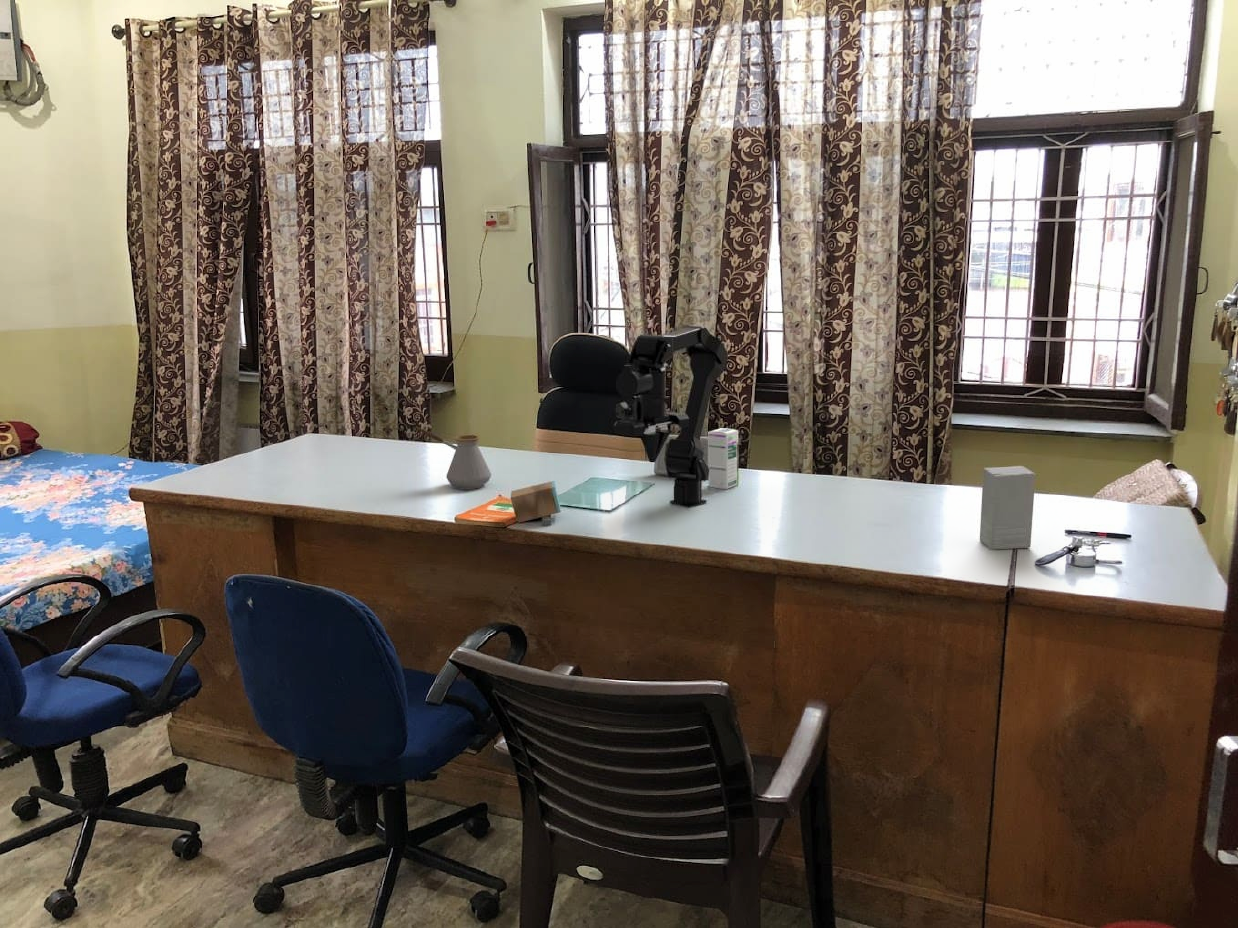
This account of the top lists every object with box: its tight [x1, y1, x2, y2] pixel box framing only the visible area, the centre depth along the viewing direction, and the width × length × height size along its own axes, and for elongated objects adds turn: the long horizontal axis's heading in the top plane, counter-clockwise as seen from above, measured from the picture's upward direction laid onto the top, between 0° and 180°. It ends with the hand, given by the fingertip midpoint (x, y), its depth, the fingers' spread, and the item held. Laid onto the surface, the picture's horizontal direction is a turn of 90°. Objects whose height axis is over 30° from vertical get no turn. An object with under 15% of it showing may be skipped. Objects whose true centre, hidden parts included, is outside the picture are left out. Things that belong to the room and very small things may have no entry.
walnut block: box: [510, 480, 561, 523], centre depth 222 cm, size 6×6×10 cm
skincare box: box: [979, 465, 1037, 551], centre depth 196 cm, size 8×7×16 cm
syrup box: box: [707, 427, 740, 490], centre depth 248 cm, size 6×6×14 cm
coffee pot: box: [412, 426, 492, 490], centre depth 254 cm, size 21×12×15 cm, turn 69°
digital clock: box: [653, 434, 708, 477], centre depth 261 cm, size 16×9×11 cm, turn 58°
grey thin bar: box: [541, 515, 552, 527], centre depth 222 cm, size 2×12×1 cm, turn 4°
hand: (652, 461), depth 218 cm, fingers closed
